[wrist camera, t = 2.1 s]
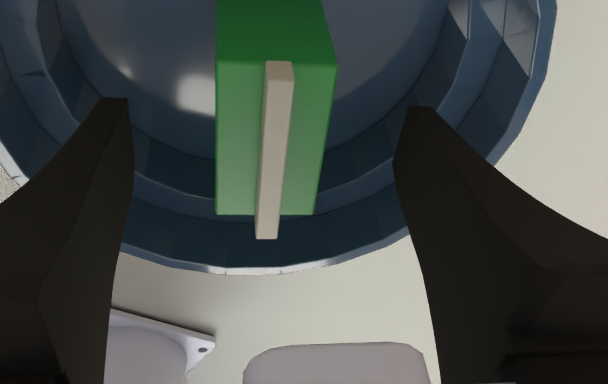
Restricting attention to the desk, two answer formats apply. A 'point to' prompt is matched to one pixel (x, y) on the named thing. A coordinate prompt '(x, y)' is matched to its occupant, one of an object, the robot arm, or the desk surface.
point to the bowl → (201, 112)
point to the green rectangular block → (271, 107)
